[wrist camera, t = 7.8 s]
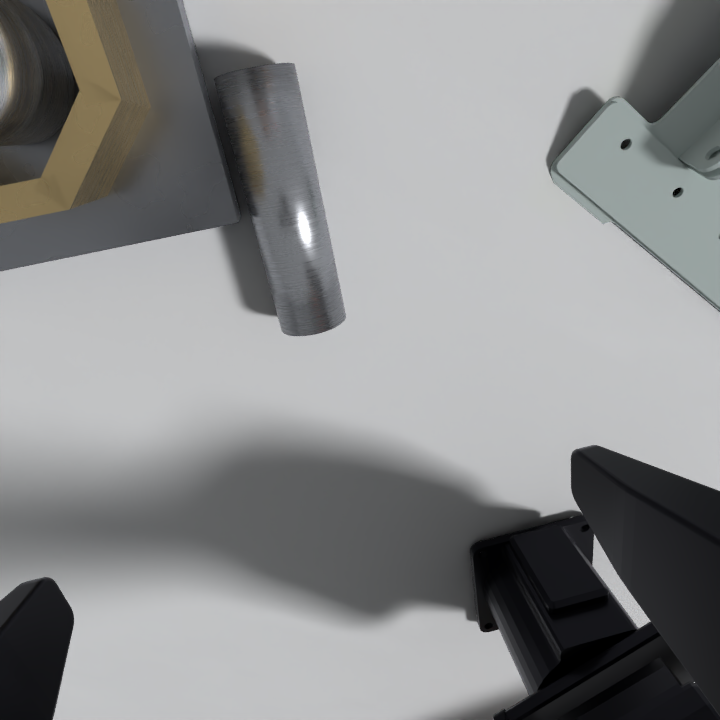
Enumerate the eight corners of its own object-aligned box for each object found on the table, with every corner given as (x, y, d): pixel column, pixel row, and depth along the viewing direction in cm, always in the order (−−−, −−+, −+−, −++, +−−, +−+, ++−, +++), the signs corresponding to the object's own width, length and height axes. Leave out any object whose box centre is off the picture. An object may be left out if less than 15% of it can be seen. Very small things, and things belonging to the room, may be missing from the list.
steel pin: (356, 309, 18) (326, 336, 16) (302, 309, 19) (268, 335, 17) (309, 63, 15) (264, 62, 13) (246, 80, 16) (196, 81, 14)
